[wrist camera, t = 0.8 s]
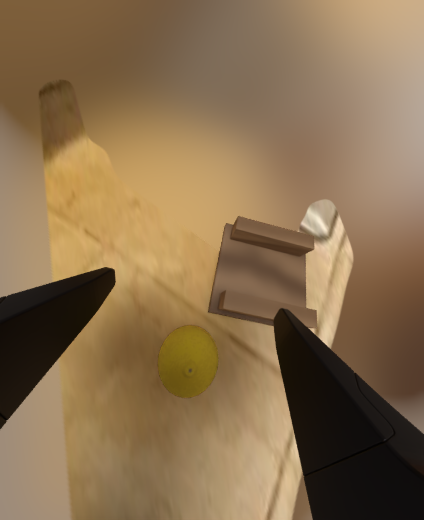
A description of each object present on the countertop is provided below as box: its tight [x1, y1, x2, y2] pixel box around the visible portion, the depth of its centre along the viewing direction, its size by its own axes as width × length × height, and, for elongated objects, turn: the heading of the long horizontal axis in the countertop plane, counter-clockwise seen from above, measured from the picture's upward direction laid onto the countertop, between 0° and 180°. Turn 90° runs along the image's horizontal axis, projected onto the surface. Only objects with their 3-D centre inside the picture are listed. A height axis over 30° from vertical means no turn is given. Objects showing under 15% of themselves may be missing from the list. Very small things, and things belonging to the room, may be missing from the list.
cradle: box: [208, 216, 317, 329], centre depth 21 cm, size 13×13×4 cm
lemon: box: [158, 325, 218, 398], centre depth 15 cm, size 6×6×8 cm
